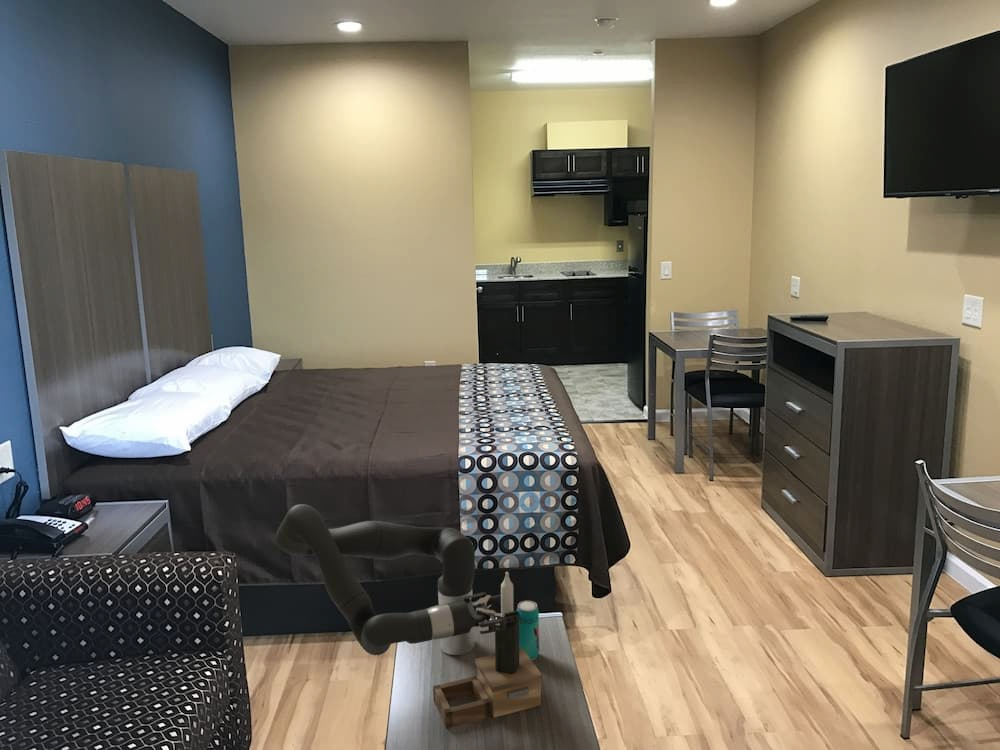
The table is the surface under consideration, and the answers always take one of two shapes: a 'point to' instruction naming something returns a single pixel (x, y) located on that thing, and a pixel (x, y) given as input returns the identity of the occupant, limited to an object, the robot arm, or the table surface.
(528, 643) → the beverage can
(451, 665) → the table surface
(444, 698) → the wooden box
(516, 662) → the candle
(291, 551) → the robot arm
